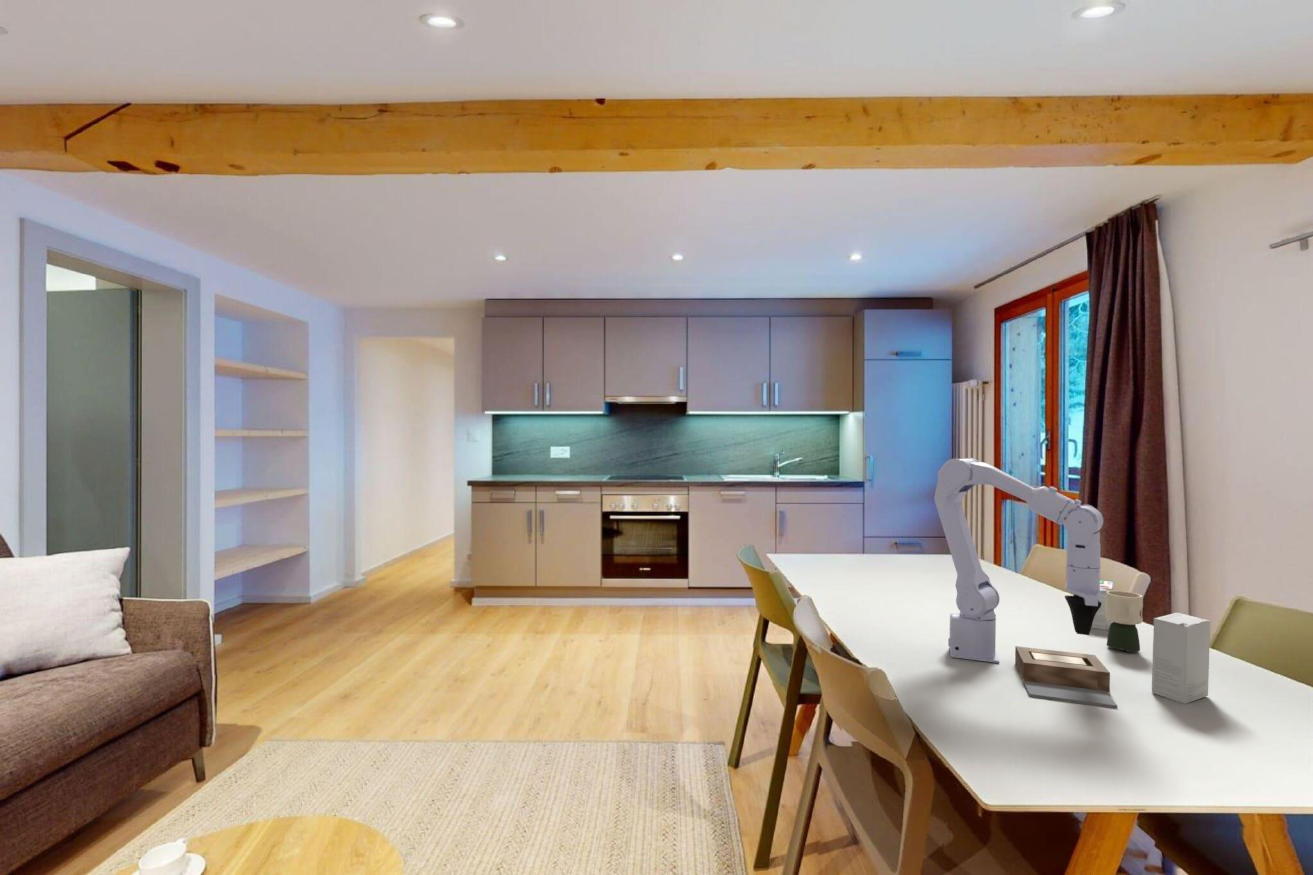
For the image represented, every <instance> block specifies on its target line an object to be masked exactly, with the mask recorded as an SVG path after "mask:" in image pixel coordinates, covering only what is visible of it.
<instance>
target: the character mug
mask: <svg viewBox="0 0 1313 875" xmlns="http://www.w3.org/2000/svg"><path fill="white" fill-rule="evenodd" d="M1143 609H1144V597H1143V595H1142V594H1139V593H1135V592H1132V591H1124V590H1113V591H1107V594H1105V617H1106V619H1107V620H1110V621H1112V623H1111V624H1110V627H1109V630H1108V633H1107V639H1106V646H1107V647H1109V648H1111V649H1116V650H1117V649H1118V650H1121V651H1123V652H1124V653H1127V651H1128V652H1129V651H1130V652H1134V653H1136V652H1140V651H1141V644H1140V638H1139V631H1138V628H1137V626H1136V625H1140V624H1142V623H1143V621H1144V618H1143V617H1144V616H1143Z"/></svg>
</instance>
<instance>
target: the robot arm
mask: <svg viewBox="0 0 1313 875" xmlns="http://www.w3.org/2000/svg"><path fill="white" fill-rule="evenodd" d="M936 474H937V483H936V487H935V493H934V496H933V498H934V500H933V501H934V504H935V508H936V509H937V513H938V516H939V520H940V522H941V526H942V529H943V532H944V533H943V534H944V536H945V539H946V542H947V545H948V549H949V552H950V555H951V558H952V559H951V560H952V562H953V565H954V568H955V571H956V574H957V575H956V579H955V588H956V589H955V590H956V597H955V598H956V599H955V603H956V606H957V608H958V610H959V613H950V615H949V637H948V640H947V641H948V642H947V644H948V649H949V652H950V658H954V659H955V658H957V659H961V660H962V659H963V660H970V661H971V660H972V661H979V662H989V663H995V664H996V663H1000V659H999V657H998V654H997V651H996V638H997V637H996V628H997V627H996V626H997V624H996V621H997V615H996V613H995V611H994V610H995V609H996V608H997V607H998V605H999V603H1000V599H1001V598H1000V595H999V594H1000V593H999V591H998V590H997V589H996V588H995V586H994V585H993V584H992V583H991V581H990V578H989V576H988V575H987V574H986V572H985V571H984V570H983V568H982V565H981V562H980V559H979V555H978V552H977V549H976V546H975V544H974V539H973V536H972V534H971V530H970V528H969V525H968V521H967V518H966V515H965V512H964V508H963V506H962V505H963V504H962V500H963V499H964V497H965V496H966V495H967V493H968V492H969V490H971V489H972V488H974V487H975V486H976V485H981V486H982V485H989V486H992V487H994V488H996V489H999V490H1001V491H1003V492H1005V493H1007V494H1010V495H1012V496H1014V497H1016V498H1019V499H1021V500H1023V501H1025V502H1026V504H1027V506H1028V509H1029V510H1030V511H1032V512H1034V513H1035V514H1037V515H1040V516H1041V517H1044V518H1045V519H1047V520H1049V521H1052V522H1053V523H1055V524H1057V525H1060V526H1062V525H1063V527H1064V529H1065V530H1066V531H1067V541H1066V566H1065V567H1066V568H1065V569H1066V571H1065V572H1066V576H1065V578H1066V579H1065V586H1064V591H1066V592H1068V593H1071V594H1073V595H1067V594H1066V595H1064V599H1065V601H1066V603H1067V606H1068V608H1069V610H1070V614H1071V618H1072V623H1073V628H1074V631H1075V633H1076V634H1077V635H1085V636H1089V635H1090V633H1091V630H1092V628H1091V627H1092V623H1093V620H1094V617H1095V615H1096V613H1097V611H1098V610H1099V608H1100V607H1101V602H1099V599H1098V597H1099V595H1100V594H1107V590H1106V589H1102V588H1100V581H1101V543H1100V541H1101V532H1099V531H1100V530H1101V529H1102V528H1103V525H1104V517H1103V516H1104V515H1103V514H1102V513H1101V512H1100V511H1099V510H1098V509H1097V508H1095V507H1094V506H1093V505H1090V504H1081V503H1082V501H1081V500H1080V499H1078V498H1076V499H1075V500H1074V499H1072V498H1070V497H1068V496H1065V495H1064V494H1061V493H1060V492H1058V491H1059V490H1058V488H1056V487H1054V486H1049V487H1047V486H1045V485H1044V486H1039V487H1033V486H1031V485H1029V484H1028V483H1025V482H1024V481H1022V480H1019V478H1016V477H1014V476H1012V475H1010V474H1008V473H1007V472H1005V471H1003V470H1001V469H999V468H997V467H996V466H993V465H991V464H989V463H987V462H983V461H979V460H978V459H975V458H972V457H966V458H951V459H949V460H947V461H945V462H944V464H943V465H942V466H941V467H940V468H939V470H938V472H937V473H936Z"/></svg>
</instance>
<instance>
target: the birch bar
mask: <svg viewBox="0 0 1313 875" xmlns="http://www.w3.org/2000/svg"><path fill="white" fill-rule="evenodd" d="M1031 657H1032V659H1033V660H1041V661H1050V662H1059V663H1067V664H1076V665H1084V666H1087V665H1086V663H1085V662H1084V661H1083V659H1082V658H1077V657H1068V656H1059V655H1051V654H1042V653H1033V652H1031Z"/></svg>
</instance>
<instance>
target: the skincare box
mask: <svg viewBox="0 0 1313 875" xmlns="http://www.w3.org/2000/svg"><path fill="white" fill-rule="evenodd" d="M1210 635H1211V621H1210V620H1208V619H1204V618H1201V617H1198V616H1197V617H1196V616H1193V615H1189V614H1186V613H1185V614H1184V613H1181V612H1172V613H1170V614H1166V615H1162V616H1158V617H1153V641H1152V668H1151V670H1152V671H1151V693H1152V694H1155V695H1158V696H1161V697H1163V698H1166V699H1170V700H1173V701H1175V702H1178V703H1181V704H1184V705H1186V704H1189V703H1191V702H1194V701H1197V700H1199V699H1203V698H1205V697H1208V696H1209V678H1210V677H1209V676H1210V675H1209V673H1210V671H1209V669H1210V637H1211V636H1210Z"/></svg>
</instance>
